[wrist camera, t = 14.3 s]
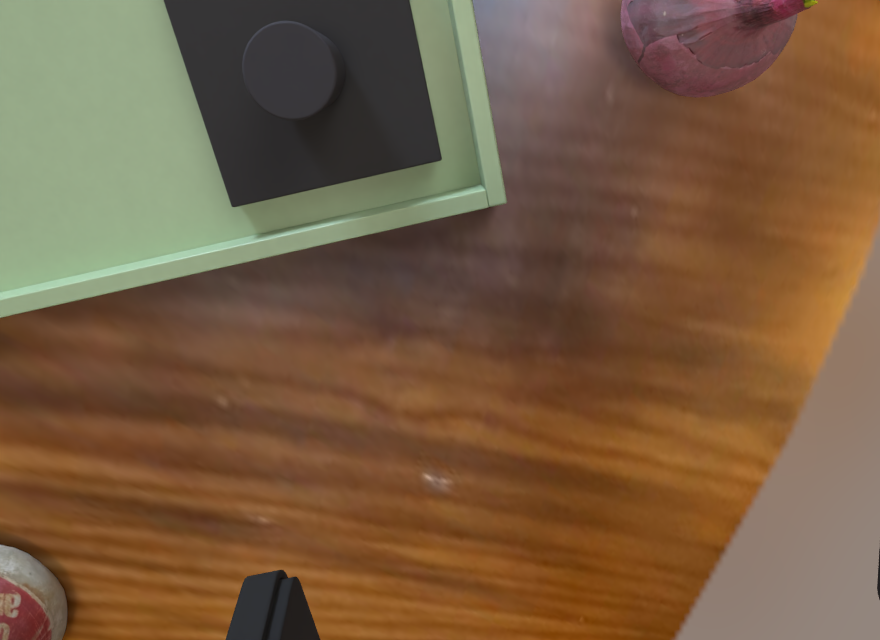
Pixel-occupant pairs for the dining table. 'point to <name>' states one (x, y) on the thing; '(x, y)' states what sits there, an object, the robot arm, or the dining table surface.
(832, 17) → the dining table surface
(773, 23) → the vegetable
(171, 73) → the pale green flat tray
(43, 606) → the bottle
